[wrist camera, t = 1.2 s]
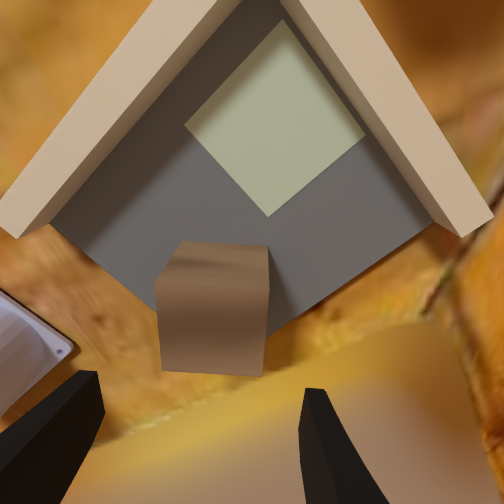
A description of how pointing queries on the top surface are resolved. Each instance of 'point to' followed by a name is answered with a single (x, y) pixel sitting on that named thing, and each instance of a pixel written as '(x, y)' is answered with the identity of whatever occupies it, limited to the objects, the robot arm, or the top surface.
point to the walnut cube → (213, 309)
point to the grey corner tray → (247, 150)
